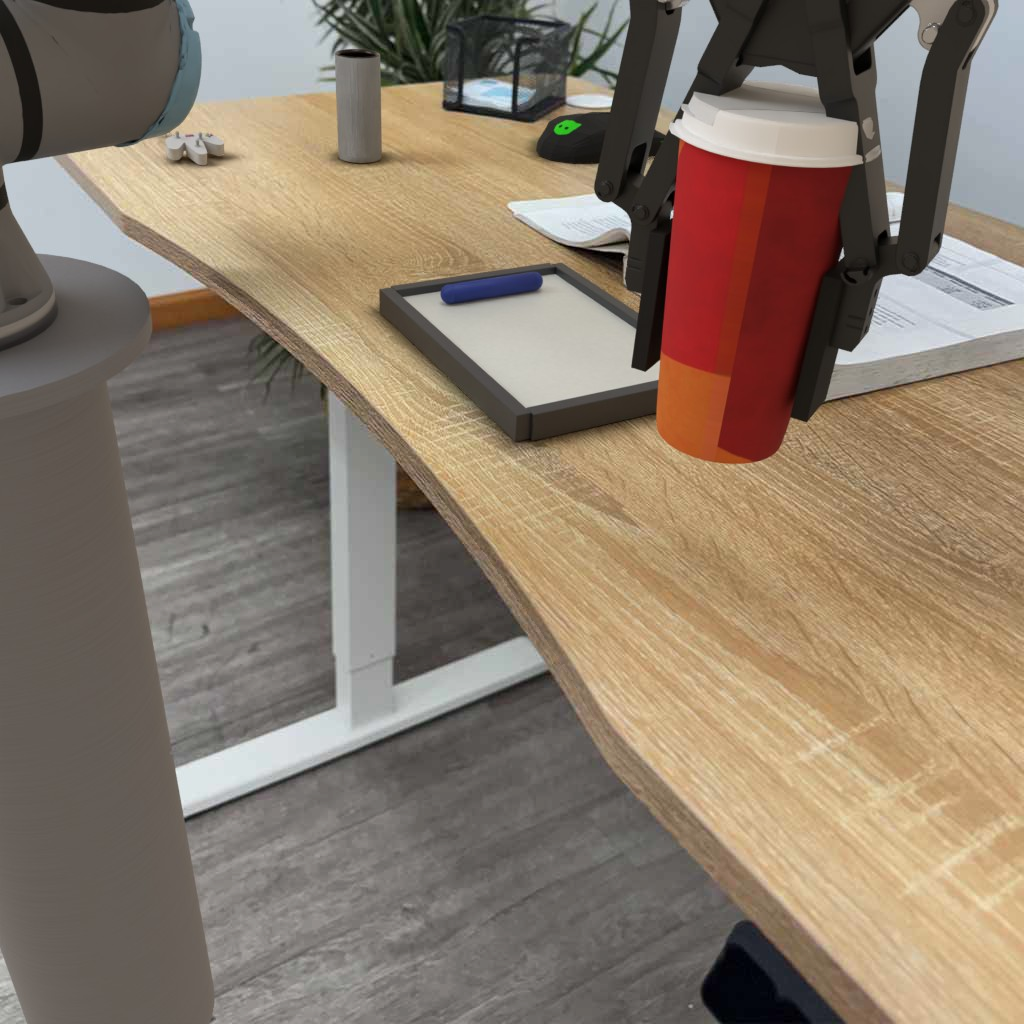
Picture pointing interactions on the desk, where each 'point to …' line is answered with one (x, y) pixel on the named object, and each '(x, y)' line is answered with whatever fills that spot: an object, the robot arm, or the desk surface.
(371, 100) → the grey cylindrical container
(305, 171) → the desk surface
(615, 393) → the whiteboard
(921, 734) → the desk surface
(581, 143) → the computer mouse
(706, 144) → the coffee cup
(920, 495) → the desk surface
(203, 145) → the game controller
